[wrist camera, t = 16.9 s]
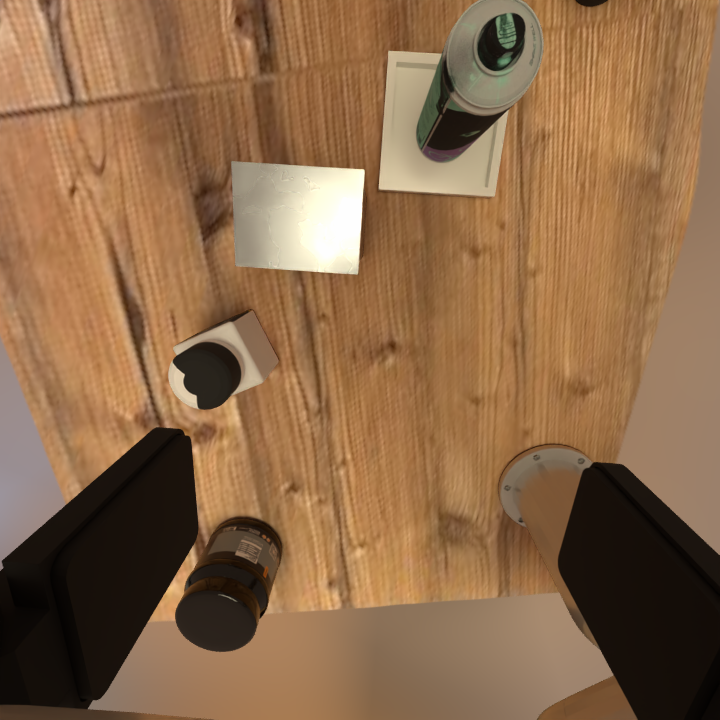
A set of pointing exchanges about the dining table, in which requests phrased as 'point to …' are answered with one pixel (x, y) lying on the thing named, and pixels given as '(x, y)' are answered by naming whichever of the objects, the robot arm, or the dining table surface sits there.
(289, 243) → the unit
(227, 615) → the supplement container
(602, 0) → the drinking cup
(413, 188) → the dish
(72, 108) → the dining table surface
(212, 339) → the medicine bottle
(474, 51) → the spray can
